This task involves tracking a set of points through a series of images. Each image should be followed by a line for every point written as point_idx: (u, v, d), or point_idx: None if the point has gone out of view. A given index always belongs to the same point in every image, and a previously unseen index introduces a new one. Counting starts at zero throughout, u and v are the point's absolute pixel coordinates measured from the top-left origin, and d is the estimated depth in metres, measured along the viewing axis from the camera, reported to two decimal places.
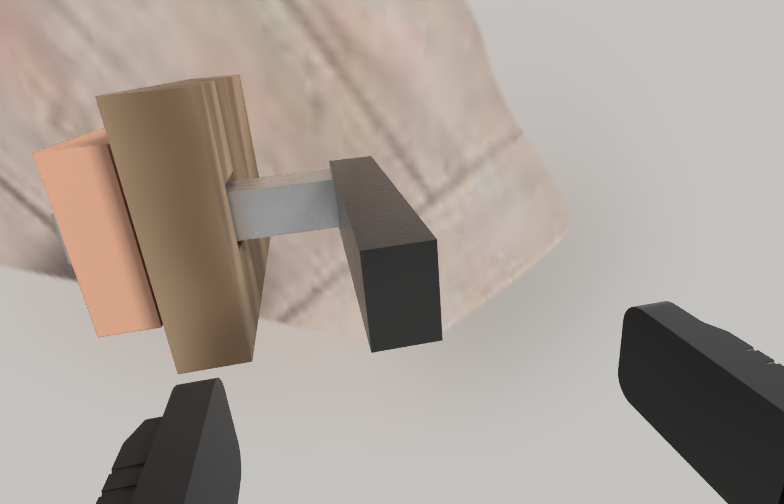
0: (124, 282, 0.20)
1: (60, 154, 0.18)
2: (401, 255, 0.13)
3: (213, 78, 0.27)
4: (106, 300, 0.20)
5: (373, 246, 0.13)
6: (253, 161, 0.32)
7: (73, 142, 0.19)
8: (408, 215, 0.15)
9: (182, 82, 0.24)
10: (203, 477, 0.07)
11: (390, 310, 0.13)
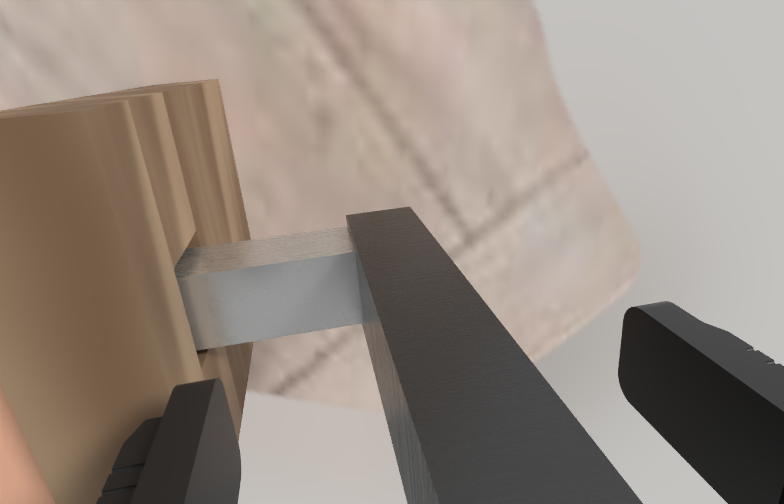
0: None
1: None
2: None
3: (176, 85, 0.19)
4: None
5: None
6: (237, 196, 0.24)
7: None
8: (550, 413, 0.06)
9: (122, 92, 0.16)
10: (203, 477, 0.07)
11: None
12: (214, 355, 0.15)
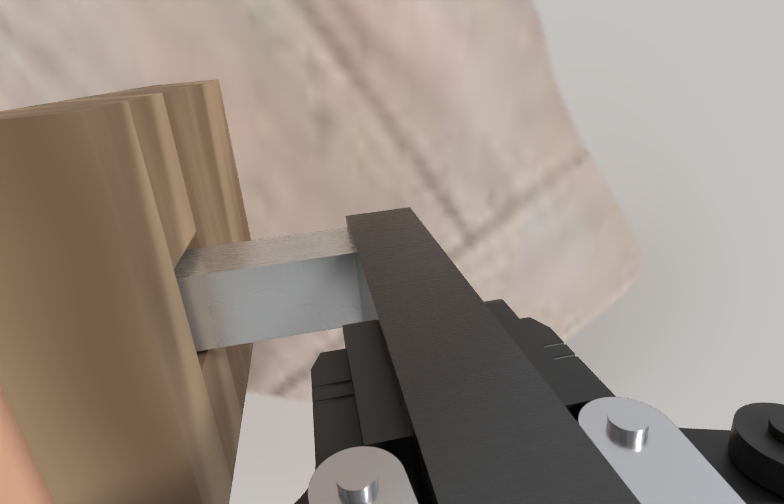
0: None
1: None
2: None
3: None
4: None
5: None
6: (237, 196, 0.24)
7: None
8: (550, 415, 0.06)
9: None
10: None
11: None
12: (214, 356, 0.15)
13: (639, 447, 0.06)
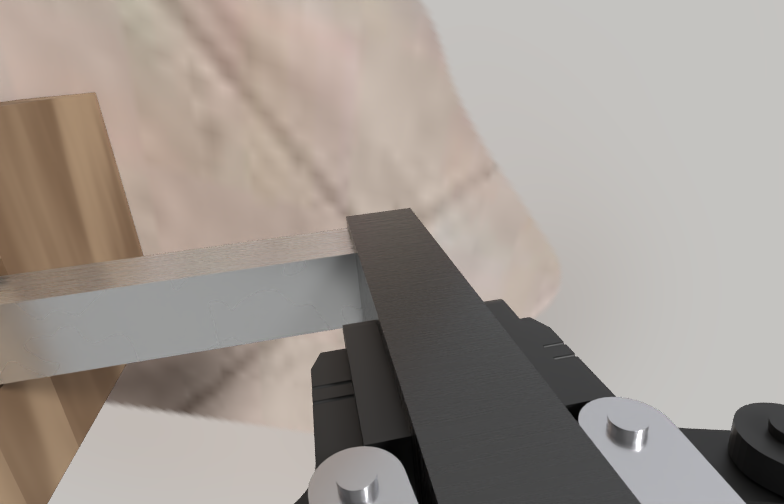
0: None
1: None
2: None
3: (24, 101, 0.18)
4: None
5: None
6: (118, 212, 0.23)
7: None
8: (550, 415, 0.06)
9: None
10: None
11: None
12: (19, 389, 0.14)
13: (639, 447, 0.06)
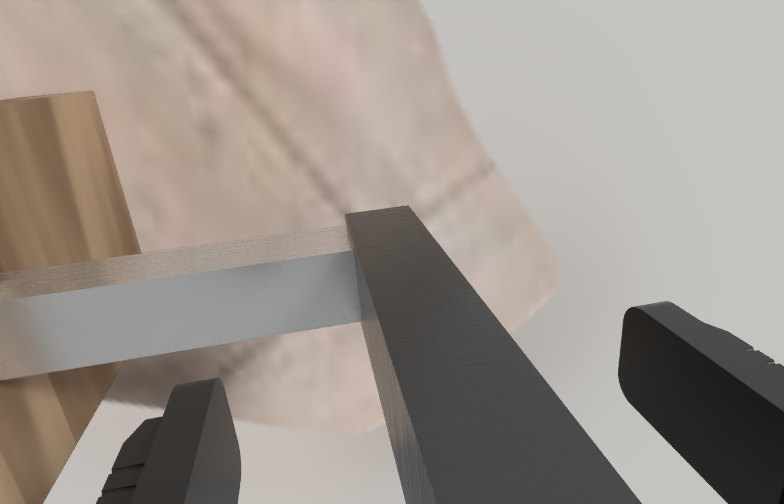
0: None
1: None
2: None
3: (22, 99, 0.18)
4: None
5: None
6: (116, 210, 0.23)
7: None
8: (545, 407, 0.06)
9: None
10: (203, 477, 0.07)
11: None
12: (17, 386, 0.14)
13: None
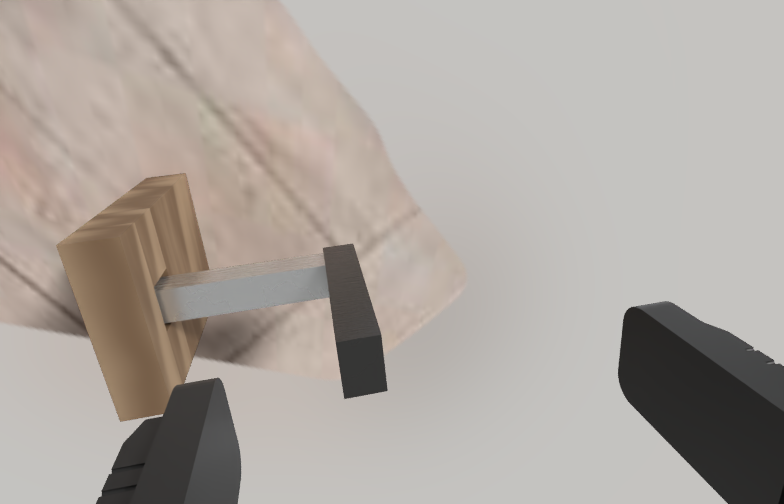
0: None
1: None
2: (360, 343, 0.22)
3: (159, 186, 0.36)
4: None
5: (343, 339, 0.22)
6: (197, 240, 0.40)
7: None
8: (368, 311, 0.24)
9: (131, 198, 0.33)
10: (204, 477, 0.07)
11: (355, 374, 0.22)
12: (174, 327, 0.32)
13: None
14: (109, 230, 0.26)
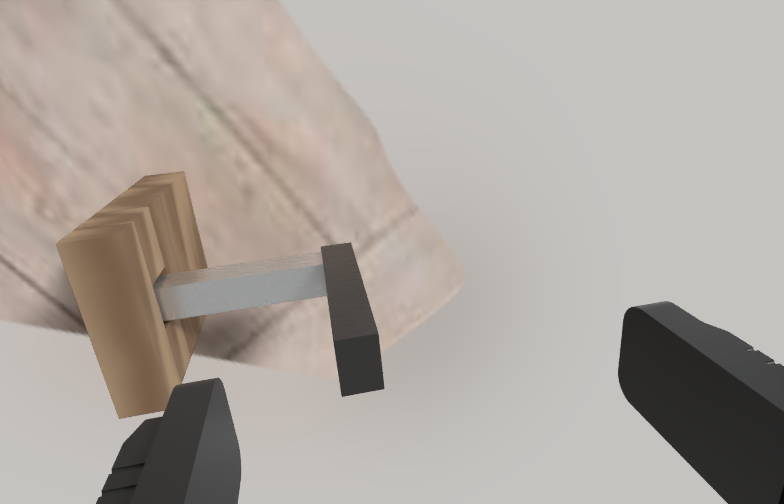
0: None
1: None
2: (357, 342, 0.22)
3: (157, 185, 0.36)
4: None
5: (341, 337, 0.22)
6: (195, 238, 0.41)
7: None
8: (365, 310, 0.24)
9: (130, 197, 0.33)
10: (203, 478, 0.07)
11: (352, 373, 0.22)
12: (173, 324, 0.32)
13: None
14: (108, 229, 0.27)
